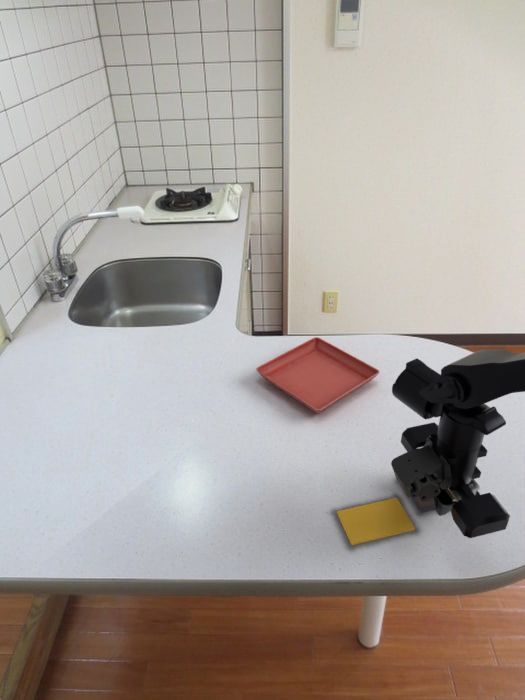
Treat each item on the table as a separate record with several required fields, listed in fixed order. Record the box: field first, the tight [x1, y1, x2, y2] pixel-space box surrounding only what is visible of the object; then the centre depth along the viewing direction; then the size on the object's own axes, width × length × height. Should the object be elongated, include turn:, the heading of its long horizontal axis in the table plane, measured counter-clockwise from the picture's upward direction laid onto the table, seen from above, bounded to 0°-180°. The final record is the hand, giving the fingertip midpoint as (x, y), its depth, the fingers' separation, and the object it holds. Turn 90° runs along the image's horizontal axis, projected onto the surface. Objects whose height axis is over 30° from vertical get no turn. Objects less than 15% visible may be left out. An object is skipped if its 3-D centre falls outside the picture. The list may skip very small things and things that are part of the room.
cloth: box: [336, 497, 416, 546], centre depth 79 cm, size 10×6×1 cm, turn 104°
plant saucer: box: [255, 336, 380, 414], centre depth 106 cm, size 18×18×3 cm
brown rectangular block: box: [411, 497, 436, 514], centre depth 82 cm, size 7×5×4 cm
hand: (440, 513), depth 78 cm, fingers closed
